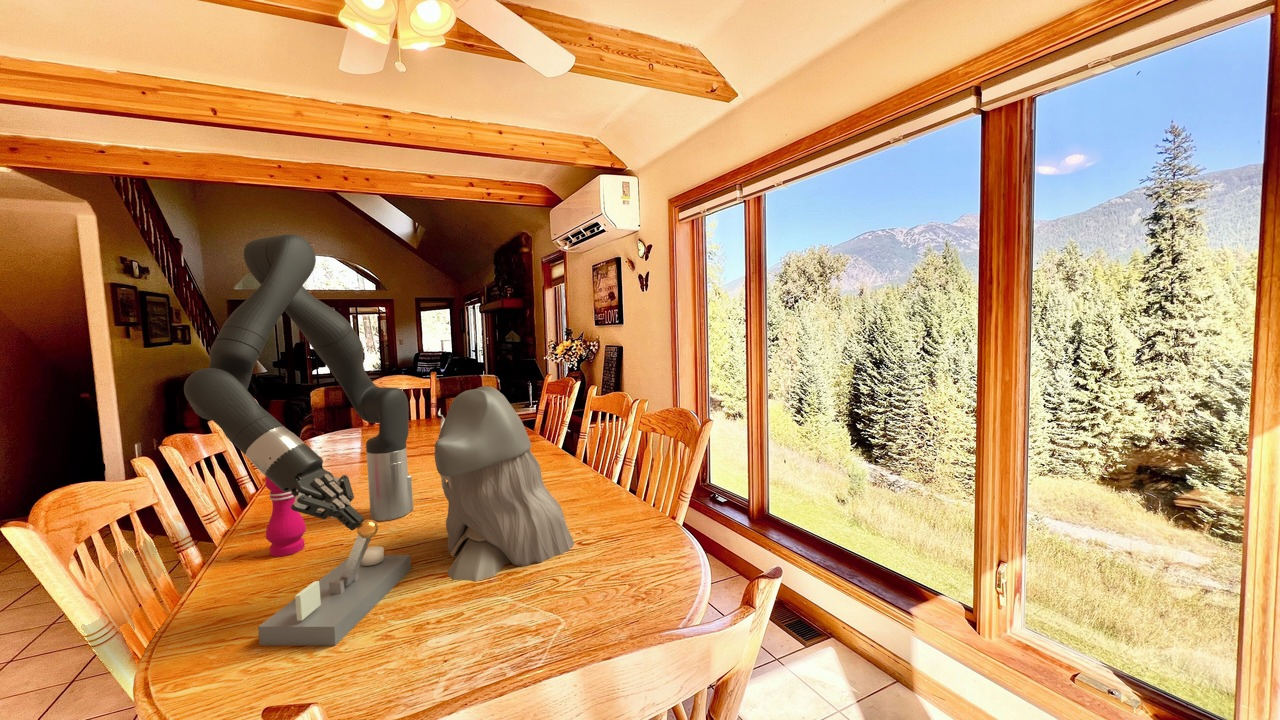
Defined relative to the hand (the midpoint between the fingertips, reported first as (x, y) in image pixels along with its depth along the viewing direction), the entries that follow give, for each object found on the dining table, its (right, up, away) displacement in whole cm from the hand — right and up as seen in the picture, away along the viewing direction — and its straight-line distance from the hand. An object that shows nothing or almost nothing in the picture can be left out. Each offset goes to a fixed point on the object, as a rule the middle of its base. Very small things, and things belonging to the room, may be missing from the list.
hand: (358, 525), depth 89 cm
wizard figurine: (+18, -12, +25) cm, 33 cm away
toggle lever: (-3, -11, +1) cm, 12 cm away
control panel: (-3, -14, +1) cm, 14 cm away
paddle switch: (-3, -12, -8) cm, 15 cm away
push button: (-3, -10, +10) cm, 14 cm away
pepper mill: (-28, -13, +23) cm, 39 cm away
